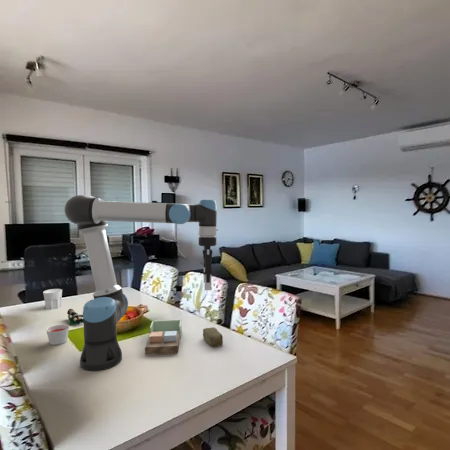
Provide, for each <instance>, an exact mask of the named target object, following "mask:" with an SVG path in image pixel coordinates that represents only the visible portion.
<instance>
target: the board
mask: <svg viewBox="0 0 450 450" xmlns="http://www.w3.org/2000/svg"><path fill="white" fill-rule="evenodd" d="M164 334H165V333H163V339H162V342H150V338H149V337H148V339H147V342H146V345H145V346H144V351H145V352H144V355H164V354H165V355H166V354H167V355H168V354H178V353H179V350H180V344H181V343H180V342H181V339H180V333H177V340H176V341H164Z"/></svg>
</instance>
